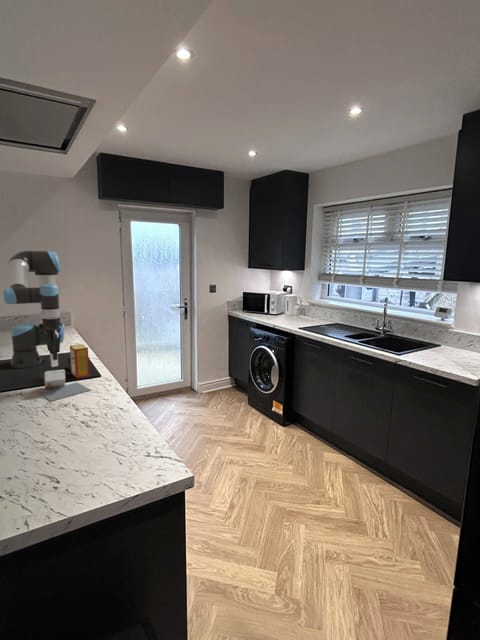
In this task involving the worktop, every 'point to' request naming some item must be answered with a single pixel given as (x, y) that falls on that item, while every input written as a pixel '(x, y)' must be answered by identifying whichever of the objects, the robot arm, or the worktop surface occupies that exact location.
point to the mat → (64, 391)
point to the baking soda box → (79, 360)
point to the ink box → (54, 378)
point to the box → (69, 363)
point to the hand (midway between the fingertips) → (54, 365)
